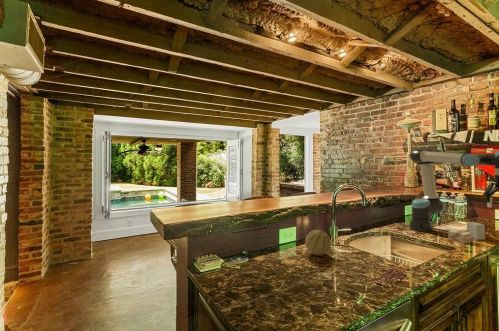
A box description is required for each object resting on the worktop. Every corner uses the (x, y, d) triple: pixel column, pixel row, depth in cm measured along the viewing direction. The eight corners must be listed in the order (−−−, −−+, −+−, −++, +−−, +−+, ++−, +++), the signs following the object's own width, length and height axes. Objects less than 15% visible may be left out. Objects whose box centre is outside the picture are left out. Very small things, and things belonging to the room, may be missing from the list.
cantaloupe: (303, 249, 157) (303, 226, 156) (327, 249, 156) (327, 226, 155) (307, 259, 142) (307, 233, 141) (333, 259, 141) (333, 233, 141)
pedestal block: (448, 239, 173) (448, 231, 173) (456, 237, 176) (456, 229, 176) (463, 243, 165) (463, 234, 164) (471, 241, 168) (471, 233, 168)
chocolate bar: (373, 283, 115) (373, 279, 115) (390, 271, 127) (390, 267, 127) (390, 290, 110) (390, 285, 110) (405, 276, 122) (406, 272, 122)
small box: (484, 239, 171) (485, 224, 171) (476, 239, 171) (476, 224, 171) (474, 236, 179) (474, 221, 179) (466, 236, 179) (466, 221, 179)
